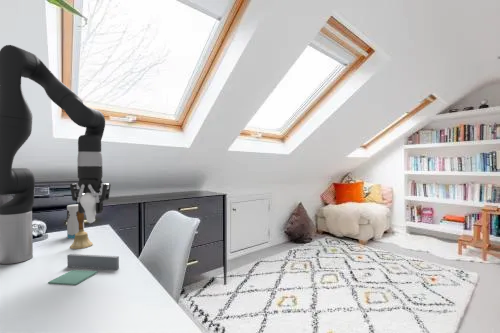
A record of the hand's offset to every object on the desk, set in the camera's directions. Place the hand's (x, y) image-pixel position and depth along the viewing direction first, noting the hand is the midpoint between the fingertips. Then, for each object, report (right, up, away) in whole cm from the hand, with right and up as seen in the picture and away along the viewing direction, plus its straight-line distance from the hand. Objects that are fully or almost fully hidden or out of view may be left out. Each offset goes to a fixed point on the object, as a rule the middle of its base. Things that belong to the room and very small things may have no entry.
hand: (90, 212), depth 94 cm
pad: (+2, -18, -12) cm, 22 cm away
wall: (+3, -18, -4) cm, 18 cm away
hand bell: (-16, -18, +19) cm, 31 cm away
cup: (-28, -17, +34) cm, 47 cm away
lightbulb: (0, -4, 0) cm, 4 cm away
